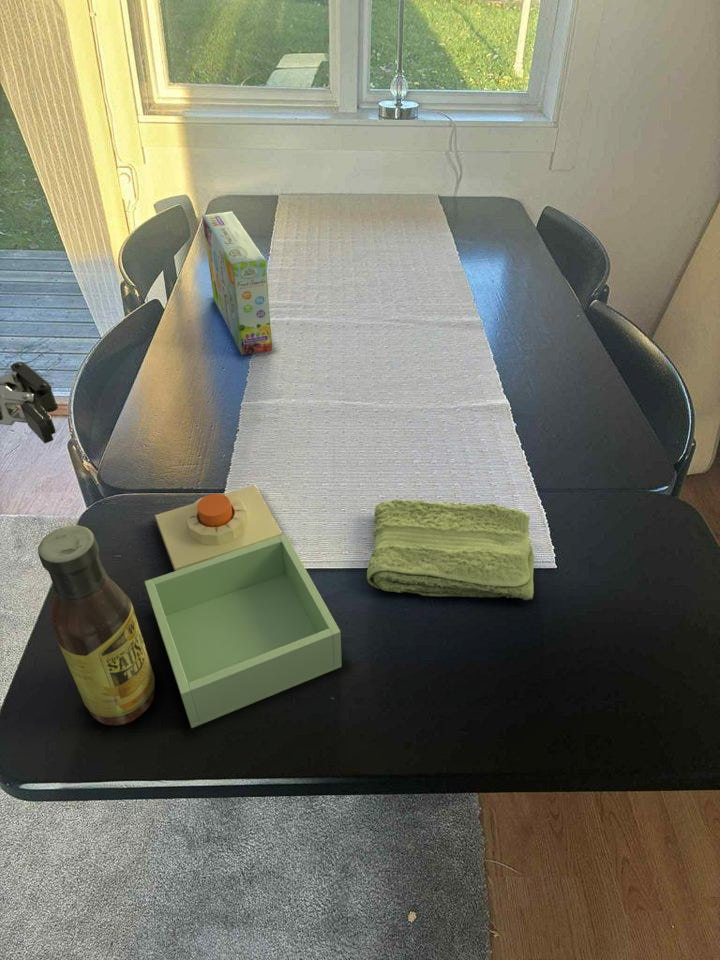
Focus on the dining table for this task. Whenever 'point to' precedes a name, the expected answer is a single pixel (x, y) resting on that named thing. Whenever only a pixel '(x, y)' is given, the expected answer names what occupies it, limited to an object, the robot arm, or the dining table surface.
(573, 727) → the dining table surface
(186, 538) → the panel
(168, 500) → the dining table surface
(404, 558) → the washcloth
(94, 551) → the sauce bottle
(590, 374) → the dining table surface
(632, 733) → the dining table surface
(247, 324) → the snack box
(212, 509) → the button
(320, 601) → the sage green tray
